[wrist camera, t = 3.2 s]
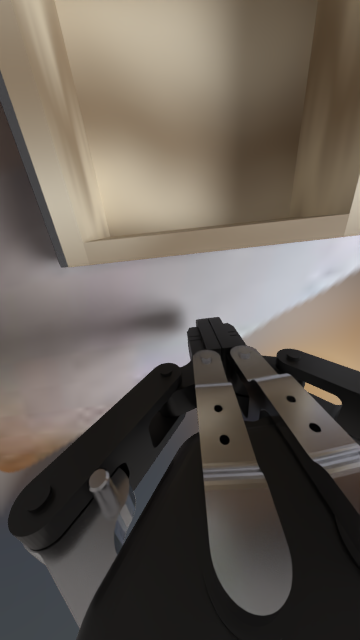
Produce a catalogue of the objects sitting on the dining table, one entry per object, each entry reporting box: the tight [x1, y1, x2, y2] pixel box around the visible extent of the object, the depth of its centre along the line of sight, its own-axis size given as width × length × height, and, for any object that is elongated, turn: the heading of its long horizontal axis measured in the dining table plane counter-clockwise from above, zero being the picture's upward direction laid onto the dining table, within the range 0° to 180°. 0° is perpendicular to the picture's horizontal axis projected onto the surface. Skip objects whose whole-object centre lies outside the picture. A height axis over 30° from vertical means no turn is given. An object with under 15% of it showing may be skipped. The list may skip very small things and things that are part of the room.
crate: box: [0, 0, 360, 267], centre depth 7 cm, size 10×12×5 cm
